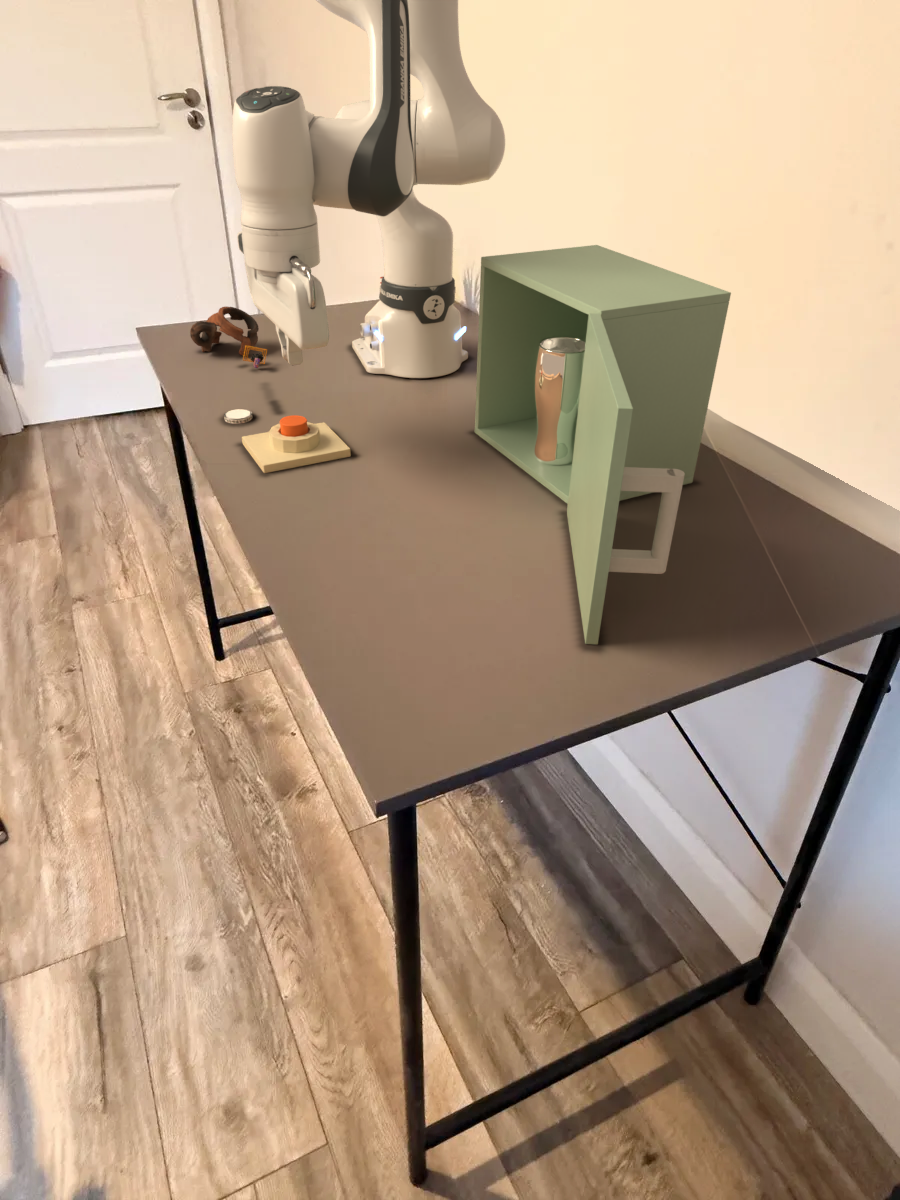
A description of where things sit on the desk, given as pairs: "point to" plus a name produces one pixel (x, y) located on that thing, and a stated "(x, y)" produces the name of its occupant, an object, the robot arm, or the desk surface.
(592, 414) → the green cabinet door
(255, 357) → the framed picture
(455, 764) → the desk surface
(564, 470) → the green cabinet
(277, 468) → the control box
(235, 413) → the washi tape
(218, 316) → the brown curved piece
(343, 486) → the desk surface
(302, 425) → the button
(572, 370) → the beer glass
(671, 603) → the desk surface
